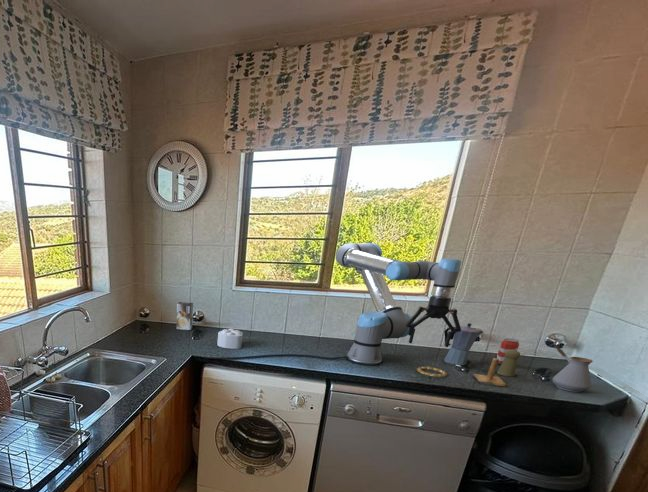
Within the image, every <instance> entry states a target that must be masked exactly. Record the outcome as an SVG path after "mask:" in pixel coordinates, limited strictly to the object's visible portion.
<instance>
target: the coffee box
mask: <svg viewBox="0 0 648 492" xmlns="http://www.w3.org/2000/svg"><path fill="white" fill-rule="evenodd" d="M193 308H194V303H193V302H186V301H179V302H177V304H176V330H182V331H191V330H192V329H193V316H194V315H193V313H194V309H193Z"/></svg>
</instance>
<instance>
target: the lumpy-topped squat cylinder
mask: <svg viewBox="0 0 648 492" xmlns="http://www.w3.org/2000/svg"><path fill="white" fill-rule="evenodd" d="M243 333H244V332H243V331H240V330H239V329H234V328H224V329H222V330H220V331H218V333H217V344H216V345H217V346H218V347H220V348H224V349H231V350H240V349H242V347H243V346H242V345H243V344H242V343H243Z"/></svg>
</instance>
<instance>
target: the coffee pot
mask: <svg viewBox="0 0 648 492" xmlns="http://www.w3.org/2000/svg"><path fill="white" fill-rule="evenodd" d="M552 346H553V348H554V349H556V350H557V352H558V353H559V354H560V355H561V356H562V358H564V359H565V360H566V361H567V362H568V364H566V366H565V367H564V368H563V369H561V370H560V371H558V373H556V374H555V375H554V376H553V377H552V383H553V384H554V385H555V386H556V387H557V388H558V389H560V390H562V391H568V392H573V393H582V392H584V391H587V390H589V389H590V388H592V379H591V374H590V368H589V365H590V364H591V363H593V360H592V359H590V358H587V357H581V356H570V357H568V356H567V354H566V353H565V352H564V351H563V349H562V348H560V347H559V345H557V344H556V343H552V344H550V345H549V347H552Z"/></svg>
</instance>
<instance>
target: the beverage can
mask: <svg viewBox="0 0 648 492" xmlns="http://www.w3.org/2000/svg"><path fill="white" fill-rule="evenodd" d="M519 341H520V340H518V339H515V338H509V337H508V338H507V337H505V338H504V339H503V340H502V341H501V343H500V346H499V348H498V352H497V356H496V357H495V358H497V359H499V361H498V364H499V365H501V364H502V362H503V360H504V359H505V352H506V351H508V350H514V351H518V349H519V346H520V343H519ZM498 364H497V365H498Z"/></svg>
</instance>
